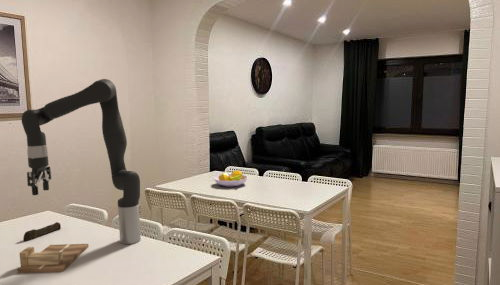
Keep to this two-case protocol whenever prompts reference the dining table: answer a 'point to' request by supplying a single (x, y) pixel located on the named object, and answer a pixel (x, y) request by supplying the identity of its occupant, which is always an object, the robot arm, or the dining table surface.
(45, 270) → the walnut board
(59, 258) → the marking gauge
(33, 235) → the hand tool
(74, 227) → the dining table surface
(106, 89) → the robot arm
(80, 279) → the dining table surface
